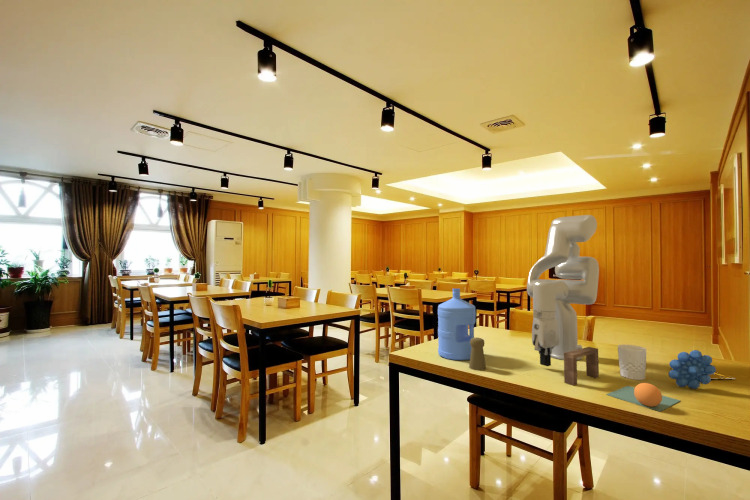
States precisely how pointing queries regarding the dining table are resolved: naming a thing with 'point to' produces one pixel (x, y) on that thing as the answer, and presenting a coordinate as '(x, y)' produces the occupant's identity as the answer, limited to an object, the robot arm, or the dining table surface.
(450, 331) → the water jug
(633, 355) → the white cup
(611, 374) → the dining table surface
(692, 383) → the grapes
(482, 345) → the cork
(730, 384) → the dining table surface
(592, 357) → the bridge
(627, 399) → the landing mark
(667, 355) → the dining table surface
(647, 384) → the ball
